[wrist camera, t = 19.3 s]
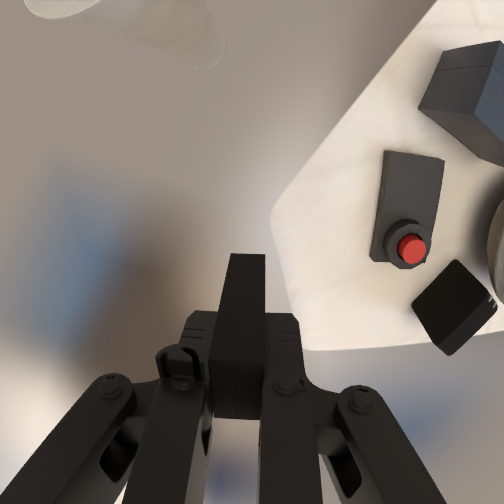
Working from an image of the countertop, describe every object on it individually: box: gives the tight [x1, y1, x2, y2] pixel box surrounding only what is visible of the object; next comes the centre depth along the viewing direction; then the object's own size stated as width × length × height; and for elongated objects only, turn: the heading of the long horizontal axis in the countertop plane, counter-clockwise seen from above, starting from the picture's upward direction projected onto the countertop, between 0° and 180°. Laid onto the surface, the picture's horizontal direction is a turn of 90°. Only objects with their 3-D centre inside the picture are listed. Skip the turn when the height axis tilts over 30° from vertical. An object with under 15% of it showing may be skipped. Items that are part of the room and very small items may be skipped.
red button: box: [398, 234, 426, 264], centre depth 35 cm, size 3×3×2 cm
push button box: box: [370, 150, 445, 269], centre depth 36 cm, size 14×8×4 cm, turn 179°
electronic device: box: [412, 260, 498, 356], centre depth 38 cm, size 4×10×10 cm, turn 143°
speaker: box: [418, 41, 504, 167], centre depth 25 cm, size 10×12×13 cm
